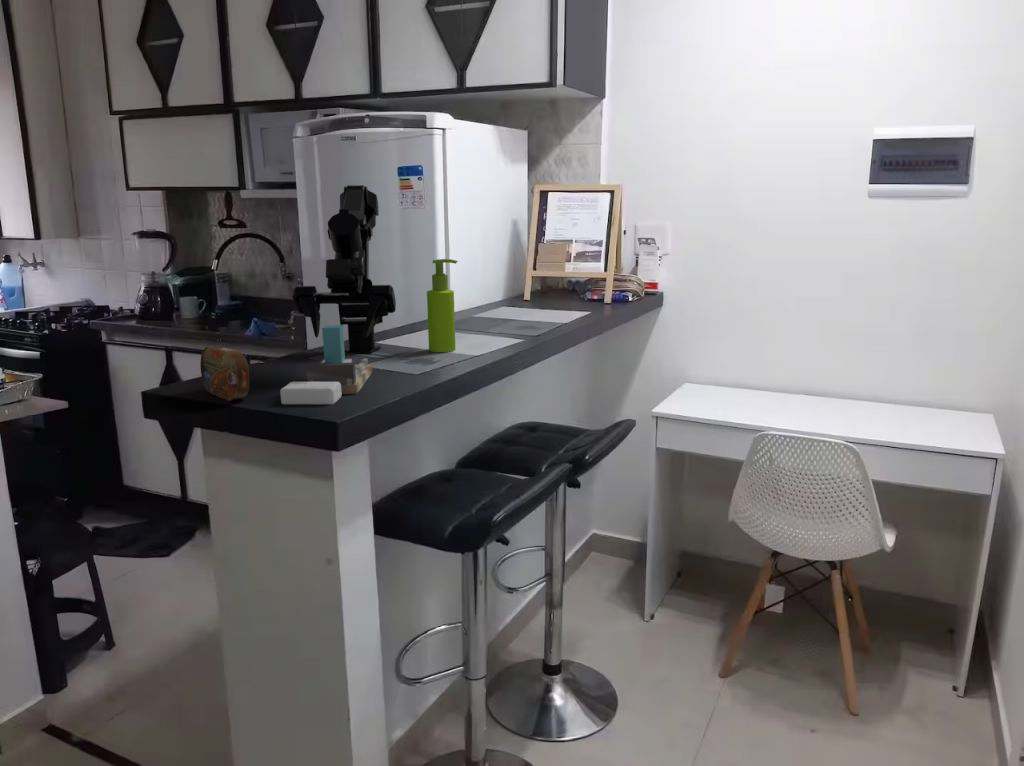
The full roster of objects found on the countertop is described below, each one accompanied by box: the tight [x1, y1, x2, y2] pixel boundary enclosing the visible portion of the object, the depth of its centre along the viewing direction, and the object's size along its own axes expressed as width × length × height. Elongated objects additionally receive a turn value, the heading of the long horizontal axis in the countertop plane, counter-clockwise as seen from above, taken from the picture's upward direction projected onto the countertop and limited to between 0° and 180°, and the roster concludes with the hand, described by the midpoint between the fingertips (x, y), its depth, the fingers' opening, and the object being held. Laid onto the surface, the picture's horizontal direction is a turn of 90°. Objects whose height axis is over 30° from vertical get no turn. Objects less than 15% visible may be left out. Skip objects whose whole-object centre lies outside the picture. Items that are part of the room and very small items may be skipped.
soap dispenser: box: [426, 258, 459, 353], centre depth 167 cm, size 6×7×20 cm
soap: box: [279, 381, 343, 405], centre depth 127 cm, size 9×6×3 cm, turn 87°
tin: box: [199, 346, 250, 402], centre depth 130 cm, size 15×3×8 cm, turn 43°
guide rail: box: [305, 358, 373, 395], centre depth 139 cm, size 17×9×5 cm, turn 1°
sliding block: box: [320, 324, 353, 363], centre depth 135 cm, size 5×5×9 cm
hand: (341, 335), depth 141 cm, fingers open, 9 cm apart
